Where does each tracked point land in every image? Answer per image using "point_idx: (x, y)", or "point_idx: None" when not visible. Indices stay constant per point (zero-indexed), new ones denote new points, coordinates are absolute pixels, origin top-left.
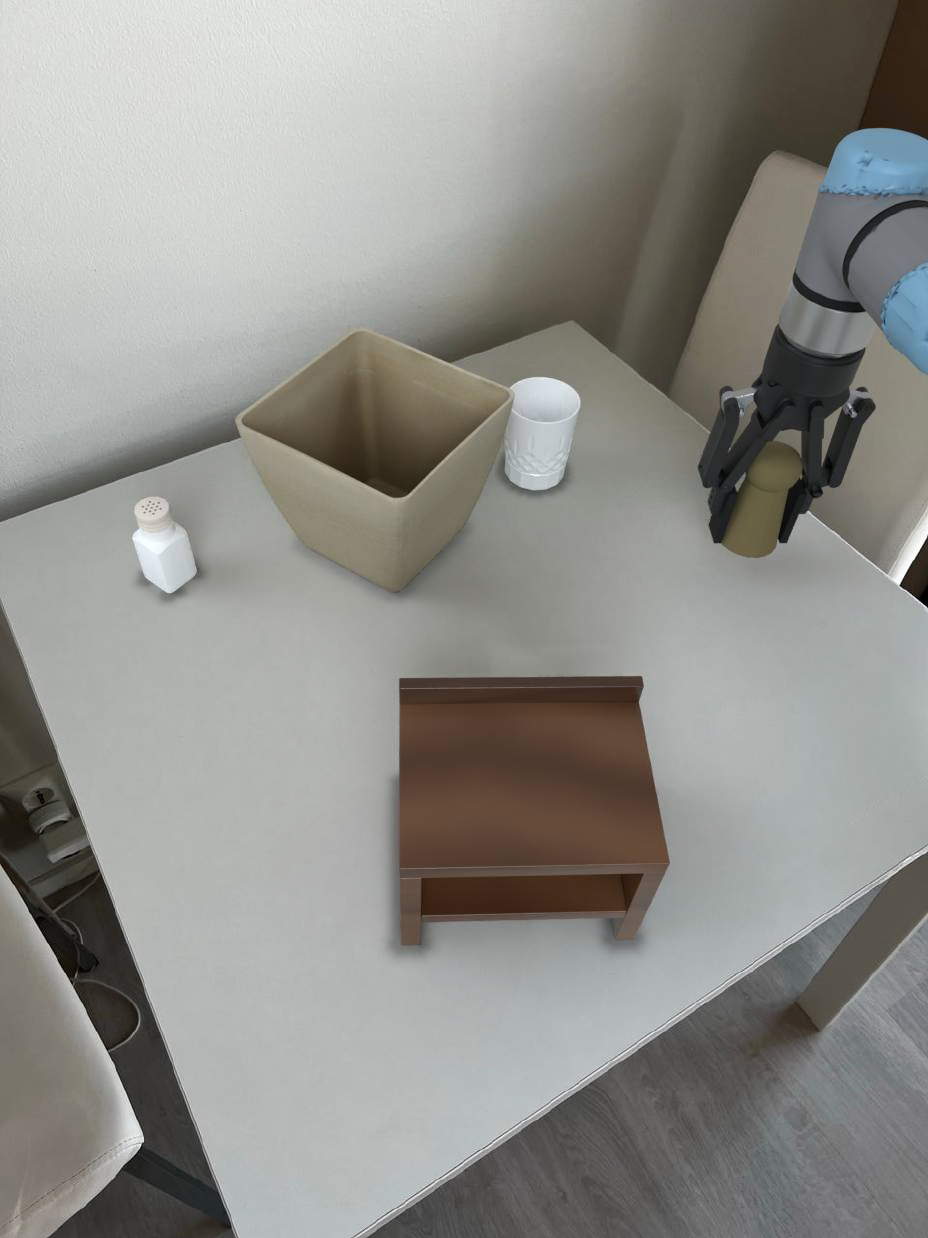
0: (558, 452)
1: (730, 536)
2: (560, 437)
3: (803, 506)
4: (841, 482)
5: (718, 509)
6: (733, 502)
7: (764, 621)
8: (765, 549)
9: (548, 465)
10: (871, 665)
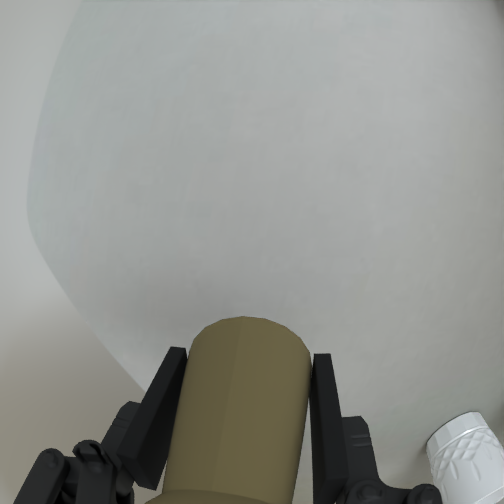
0: (472, 458)
1: (303, 366)
2: (481, 475)
3: (129, 419)
4: (38, 456)
5: (349, 429)
6: (330, 454)
7: (232, 194)
8: (222, 332)
9: (475, 441)
10: (84, 114)
